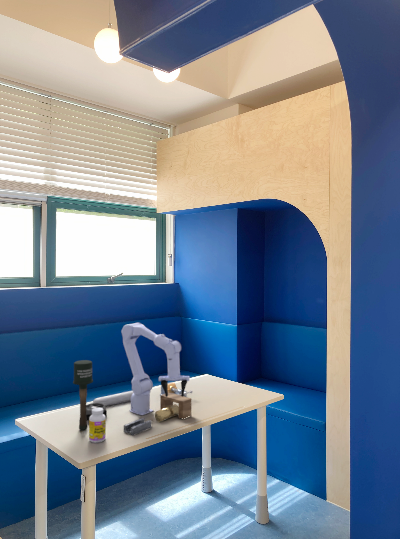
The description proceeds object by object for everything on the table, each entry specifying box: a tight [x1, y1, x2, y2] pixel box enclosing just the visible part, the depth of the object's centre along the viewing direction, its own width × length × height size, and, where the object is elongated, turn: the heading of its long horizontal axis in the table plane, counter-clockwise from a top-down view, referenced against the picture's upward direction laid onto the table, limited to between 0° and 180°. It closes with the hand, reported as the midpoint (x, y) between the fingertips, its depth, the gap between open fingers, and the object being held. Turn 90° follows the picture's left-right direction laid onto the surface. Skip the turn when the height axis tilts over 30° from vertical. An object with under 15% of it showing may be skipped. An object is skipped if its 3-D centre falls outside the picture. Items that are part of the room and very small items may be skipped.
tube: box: [92, 390, 133, 407], centre depth 221 cm, size 5×5×25 cm
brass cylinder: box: [154, 403, 179, 423], centre depth 200 cm, size 5×12×5 cm, turn 141°
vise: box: [159, 381, 193, 397], centre depth 230 cm, size 18×10×7 cm, turn 42°
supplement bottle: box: [88, 408, 107, 444], centre depth 175 cm, size 7×7×13 cm
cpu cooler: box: [86, 402, 108, 422], centre depth 201 cm, size 10×6×10 cm
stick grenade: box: [72, 359, 94, 432], centre depth 186 cm, size 8×9×30 cm
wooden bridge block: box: [159, 393, 192, 420], centre depth 205 cm, size 15×6×8 cm, turn 51°
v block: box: [123, 417, 152, 436], centre depth 186 cm, size 6×11×3 cm, turn 141°
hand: (174, 396), depth 198 cm, fingers open, 7 cm apart
